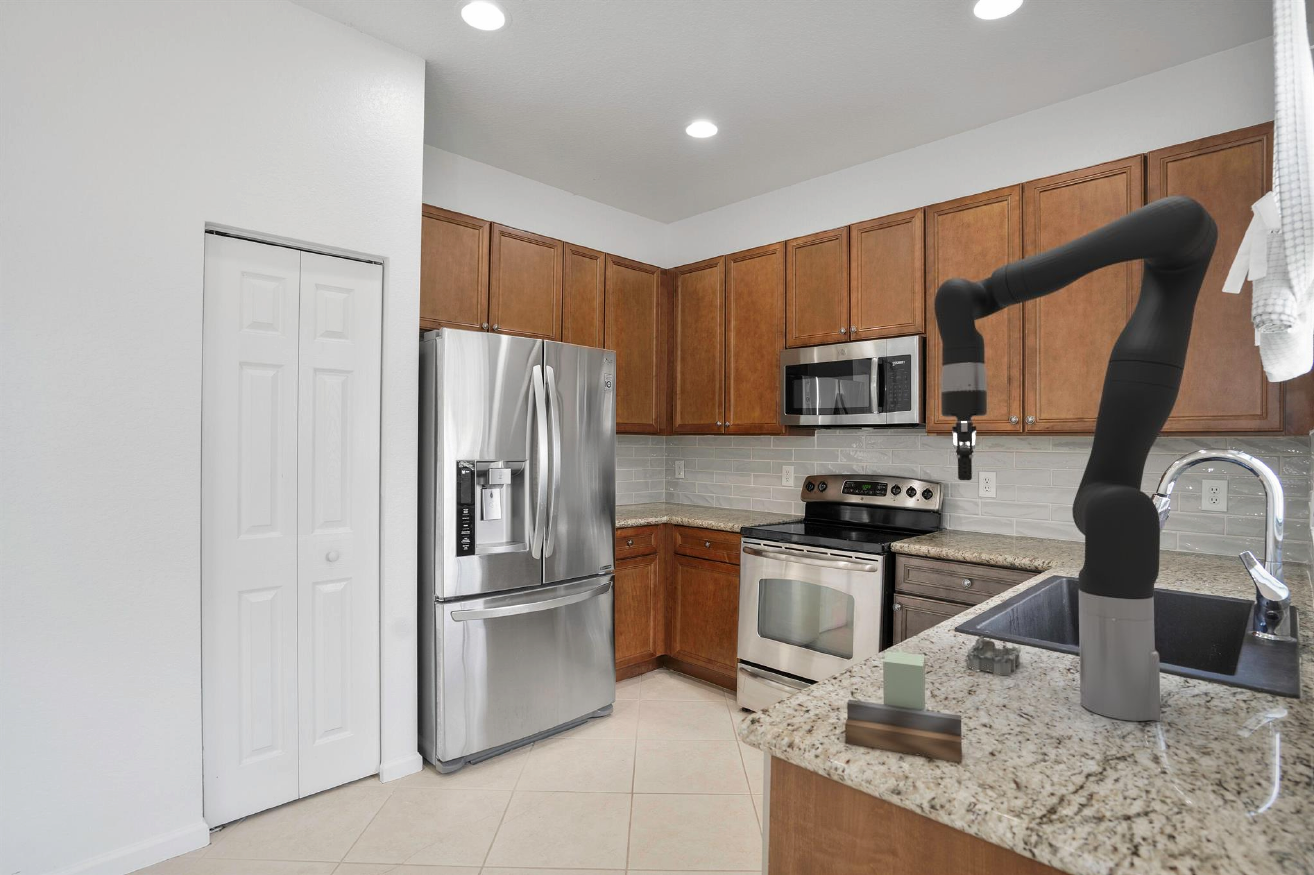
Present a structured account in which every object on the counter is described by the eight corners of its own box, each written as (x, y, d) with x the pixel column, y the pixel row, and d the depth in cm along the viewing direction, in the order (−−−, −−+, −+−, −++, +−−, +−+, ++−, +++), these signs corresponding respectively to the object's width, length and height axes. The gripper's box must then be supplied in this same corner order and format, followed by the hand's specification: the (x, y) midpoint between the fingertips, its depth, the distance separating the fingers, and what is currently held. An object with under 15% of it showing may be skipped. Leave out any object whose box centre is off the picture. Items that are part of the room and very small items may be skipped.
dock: (961, 729, 92) (961, 696, 92) (961, 762, 82) (961, 725, 83) (856, 713, 98) (856, 682, 98) (845, 742, 88) (844, 708, 88)
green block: (925, 728, 92) (924, 655, 92) (924, 742, 88) (923, 666, 88) (887, 722, 94) (886, 650, 94) (883, 736, 90) (883, 661, 90)
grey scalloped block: (981, 656, 126) (981, 634, 126) (1025, 664, 120) (1025, 641, 121) (961, 669, 118) (961, 646, 118) (1008, 679, 113) (1007, 655, 113)
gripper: (988, 385, 114) (989, 481, 113) (985, 392, 127) (986, 477, 126) (940, 387, 117) (941, 480, 116) (942, 393, 130) (943, 477, 129)
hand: (964, 479), depth 121 cm, fingers open, 8 cm apart
